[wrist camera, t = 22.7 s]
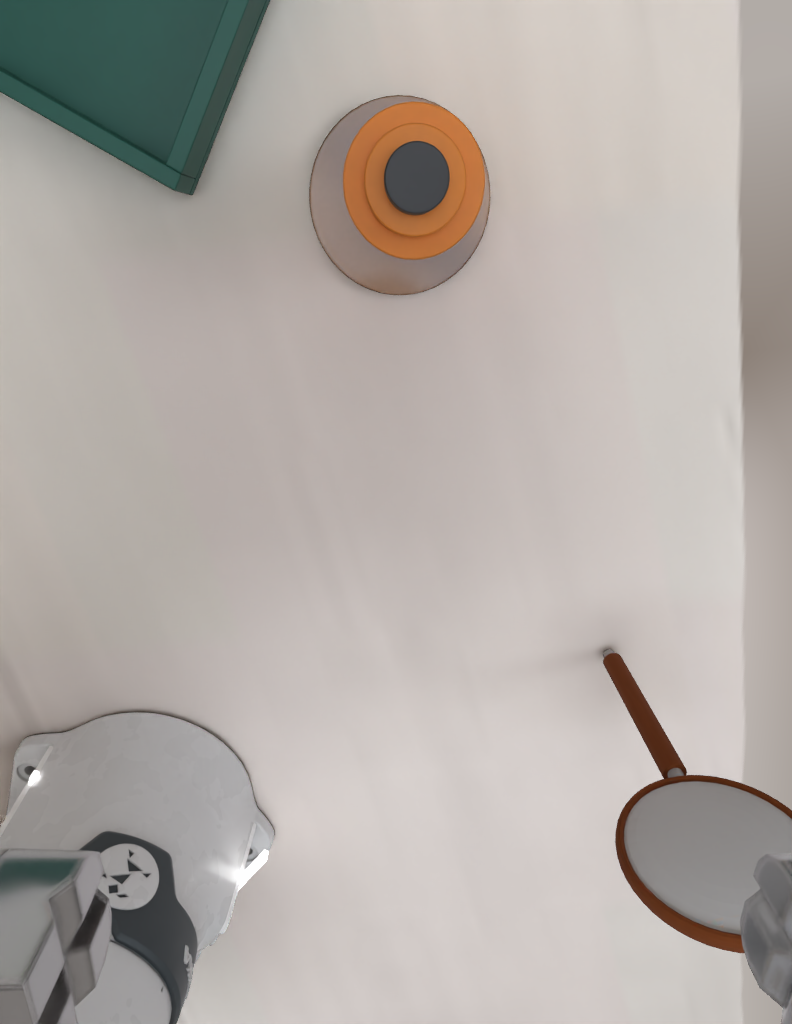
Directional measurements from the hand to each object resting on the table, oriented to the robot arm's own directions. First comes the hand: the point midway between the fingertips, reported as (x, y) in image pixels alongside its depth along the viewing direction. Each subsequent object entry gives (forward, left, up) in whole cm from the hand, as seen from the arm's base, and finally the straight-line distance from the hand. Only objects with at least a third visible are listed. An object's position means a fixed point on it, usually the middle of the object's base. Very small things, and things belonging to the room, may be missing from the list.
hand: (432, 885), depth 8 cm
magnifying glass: (-9, -21, -31) cm, 38 cm away
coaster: (+8, +4, -31) cm, 33 cm away
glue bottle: (+9, +4, -30) cm, 32 cm away
